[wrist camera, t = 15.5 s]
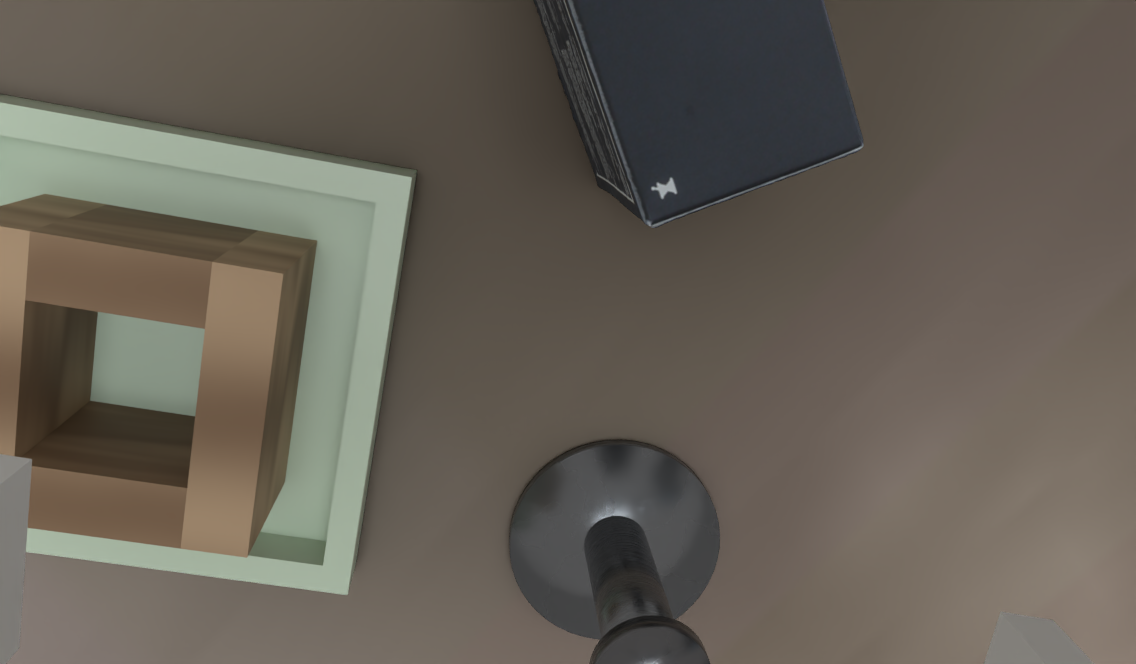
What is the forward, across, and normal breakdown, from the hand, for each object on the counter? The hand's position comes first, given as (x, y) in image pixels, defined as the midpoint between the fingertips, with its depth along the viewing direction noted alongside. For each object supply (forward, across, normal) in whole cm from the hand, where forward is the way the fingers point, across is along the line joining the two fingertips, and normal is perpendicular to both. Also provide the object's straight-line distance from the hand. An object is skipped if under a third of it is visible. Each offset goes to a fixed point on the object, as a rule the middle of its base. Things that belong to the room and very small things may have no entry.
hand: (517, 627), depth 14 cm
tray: (+23, -12, -4) cm, 26 cm away
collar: (+23, -12, -4) cm, 26 cm away
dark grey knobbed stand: (+24, +5, -9) cm, 26 cm away
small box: (+24, +2, +10) cm, 26 cm away
